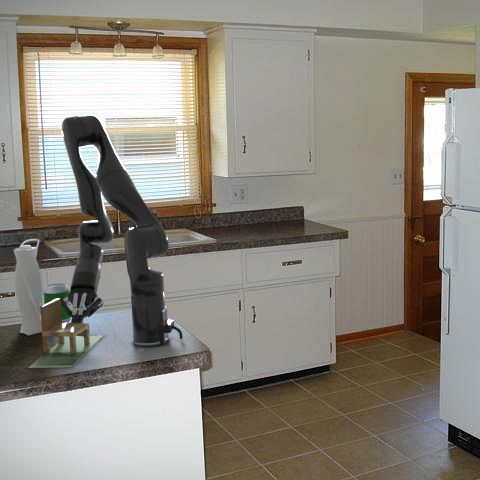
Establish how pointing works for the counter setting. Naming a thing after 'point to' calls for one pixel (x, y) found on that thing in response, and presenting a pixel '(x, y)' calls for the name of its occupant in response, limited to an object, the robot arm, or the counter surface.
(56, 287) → the soda can
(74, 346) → the chair
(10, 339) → the counter surface
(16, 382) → the counter surface
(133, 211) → the robot arm
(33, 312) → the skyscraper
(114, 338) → the counter surface
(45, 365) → the mat
